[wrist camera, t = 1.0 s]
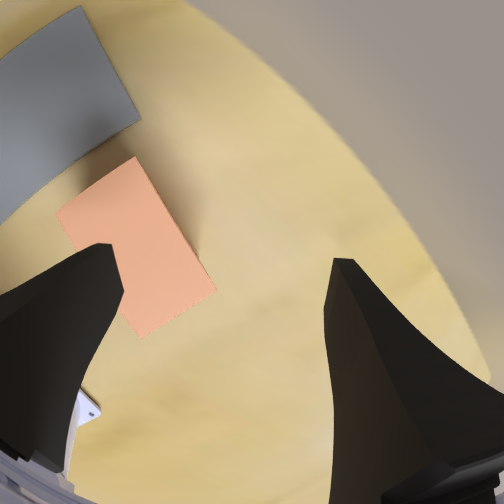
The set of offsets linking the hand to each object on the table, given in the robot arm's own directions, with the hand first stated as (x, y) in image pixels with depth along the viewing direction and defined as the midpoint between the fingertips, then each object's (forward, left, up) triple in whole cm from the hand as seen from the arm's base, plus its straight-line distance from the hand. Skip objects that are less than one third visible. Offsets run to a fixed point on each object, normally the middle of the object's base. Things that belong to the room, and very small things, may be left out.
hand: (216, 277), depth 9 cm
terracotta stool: (-3, +1, -12) cm, 12 cm away
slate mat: (-6, +14, -12) cm, 19 cm away
